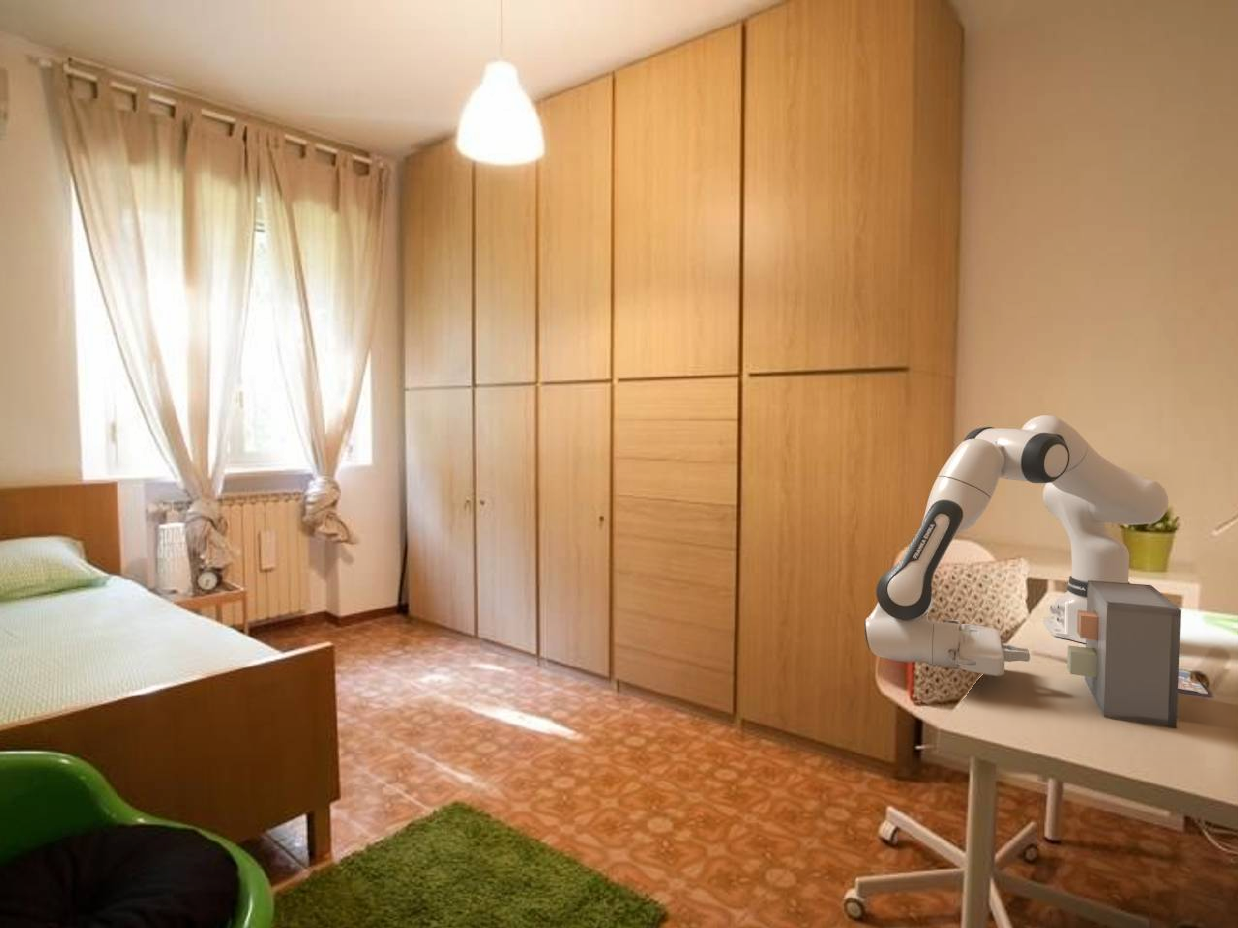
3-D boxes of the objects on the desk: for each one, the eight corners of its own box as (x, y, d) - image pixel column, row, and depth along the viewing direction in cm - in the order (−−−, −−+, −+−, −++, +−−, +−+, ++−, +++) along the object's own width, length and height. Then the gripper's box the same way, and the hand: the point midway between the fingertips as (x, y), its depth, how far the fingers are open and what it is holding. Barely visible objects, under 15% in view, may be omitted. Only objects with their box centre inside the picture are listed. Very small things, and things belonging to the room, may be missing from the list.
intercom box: (1103, 717, 117) (1107, 603, 116) (1084, 679, 135) (1087, 579, 134) (1176, 728, 113) (1181, 609, 112) (1147, 687, 130) (1150, 584, 129)
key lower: (1070, 673, 126) (1071, 651, 125) (1067, 666, 129) (1067, 645, 129) (1103, 678, 123) (1103, 655, 123) (1098, 670, 127) (1099, 648, 127)
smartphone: (1191, 674, 138) (1212, 700, 125) (1146, 668, 142) (1162, 692, 129) (1191, 670, 138) (1212, 695, 125) (1146, 663, 142) (1162, 687, 129)
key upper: (1080, 637, 125) (1081, 615, 125) (1076, 631, 128) (1077, 609, 128) (1113, 641, 122) (1114, 618, 122) (1108, 635, 126) (1109, 612, 126)
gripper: (948, 644, 127) (1034, 655, 121) (950, 617, 146) (1025, 625, 139) (948, 677, 128) (1033, 689, 121) (950, 646, 146) (1024, 655, 140)
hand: (1029, 655), depth 131 cm, fingers closed
